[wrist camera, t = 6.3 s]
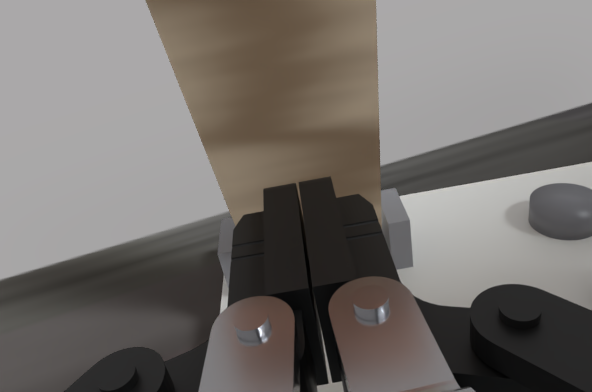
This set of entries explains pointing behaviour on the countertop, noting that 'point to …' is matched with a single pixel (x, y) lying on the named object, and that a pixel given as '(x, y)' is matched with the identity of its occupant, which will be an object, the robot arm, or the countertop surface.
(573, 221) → the panel
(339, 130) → the brown long rectangular block
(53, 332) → the countertop surface
